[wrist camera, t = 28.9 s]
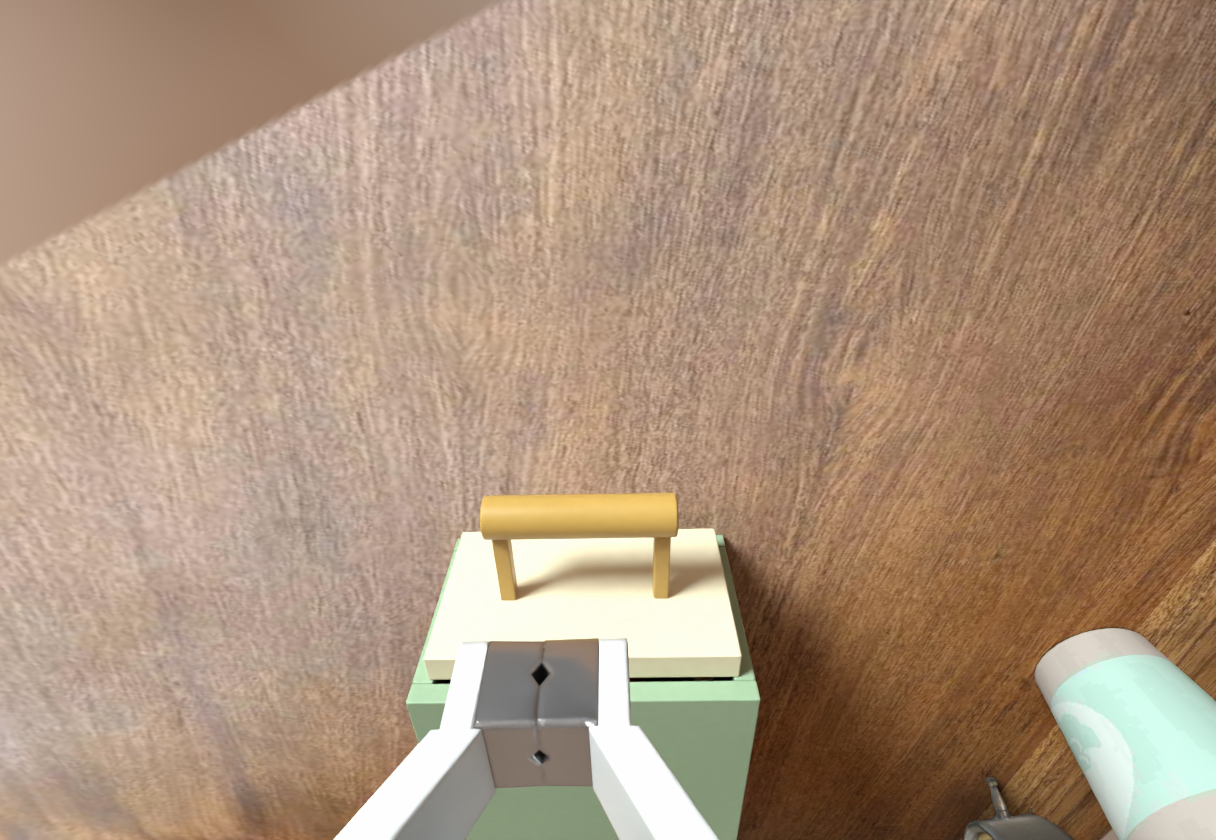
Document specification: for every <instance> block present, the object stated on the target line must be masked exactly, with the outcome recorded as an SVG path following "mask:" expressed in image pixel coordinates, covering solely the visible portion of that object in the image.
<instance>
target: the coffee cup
mask: <svg viewBox="0 0 1216 840" xmlns="http://www.w3.org/2000/svg"><path fill="white" fill-rule="evenodd" d="M1035 680H1036V683H1037V685H1038V687H1039V689H1040V691H1041V693H1042V695H1043V696H1044V698H1045V700H1046V702H1047V704H1048V706H1049V708H1050V710H1051V712H1052V714H1053V716H1054V718H1055V720H1056V722H1057V724H1058V726H1059V727H1060V729H1061V731H1062V733H1063V735H1064V737H1065V739H1066V741H1067V743H1068V745H1069V747H1070V748H1071V750H1072V752H1073V754H1074V756H1075V758H1076V760H1077V762H1078V764H1079V766H1080V768H1081V770H1082V771H1083V773H1084V775H1085V777H1086V779H1087V781H1088V783H1089V785H1090V787H1091V789H1092V791H1093V793H1094V794H1095V796H1096V798H1097V800H1098V802H1099V804H1100V806H1101V808H1102V810H1103V812H1104V814H1105V815H1106V817H1107V819H1108V821H1109V823H1110V825H1111V827H1112V829H1113V831H1114V833H1115V835H1116V837H1117V838H1118V840H1216V701H1215V700H1214V699H1213V698H1211V697H1210V696H1209V695H1208V694H1207V693H1206V692H1205V691H1204V690H1203V689H1201V688H1200V687H1199V686H1198V685H1197V684H1196V683H1195V682H1194V681H1192V680H1191V679H1190V678H1189V677H1188V676H1187V675H1186V674H1185V673H1184V672H1182V671H1181V670H1180V669H1179V668H1178V667H1177V666H1176V665H1175V664H1173V663H1172V662H1171V661H1170V660H1169V659H1168V658H1167V657H1165V656H1164V655H1163V654H1162V653H1161V652H1160V651H1159V650H1158V649H1156V648H1155V647H1154V646H1153V645H1152V644H1151V643H1150V642H1149V641H1147V640H1146V639H1145V638H1144V637H1143V636H1141V635H1140V634H1138V633H1136V632H1133V631H1130V630H1126V629H1119V628H1106V629H1098V630H1093V631H1088V632H1085V633H1081V634H1078V635H1076V636H1073V637H1071V638H1069V639H1067V640H1065V641H1063V642H1061V643H1059V644H1058V645H1056V646H1055V647H1053V648H1052V649H1051V650H1050V651H1048V652H1047V653H1046V654H1045V655H1044V656H1043V658H1042V659H1041V660H1040V662H1039V663H1038V665H1037V667H1036V671H1035Z"/></svg>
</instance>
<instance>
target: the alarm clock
mask: <svg viewBox="0 0 1216 840" xmlns="http://www.w3.org/2000/svg"><path fill="white" fill-rule="evenodd" d="M986 783H987V785H988V786H989V787H990V789H991V797H992V802H993V805H994V808H995V811H996V816H994V817H993V818H991V819H986V820H974V821H971V822H970V823H969V824H968V825H967V827H966V829H965V832H964V837H963V840H1074V839H1073V838H1072V837H1071V836H1070V835H1069V834H1067V833H1066V832H1065V831H1064V830H1063V829H1061V828H1060V827H1059V826H1057V825H1056V824H1054V823H1052V822H1051V821H1049V820H1047V819H1045V818H1042V817H1040V816H1037V815H1032V810H1031V809H1030V812H1029V814H1023V815H1015V816H1011V815H1010V814H1009V812H1008V810H1007V806H1006V803H1005V801H1004V800H1003V798H1002V796H1001V794H1000V792H999V790H998V788H997V785H998V782H997V780H996V779H995V778H994V777H988V778H987V779H986Z"/></svg>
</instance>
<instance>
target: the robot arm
mask: <svg viewBox="0 0 1216 840" xmlns="http://www.w3.org/2000/svg"><path fill="white" fill-rule="evenodd" d="M535 786H593V790H594V792H595V794H596V796H597V798H598V800H599V802H600V804H601V805H602V807H603V809H604V811H605V813H606V815H607V817H608V819H609V821H610V823H611V825H612V827H613V829H614V831H615V832H616V834H617V836H618V838H619V840H719V839H718V837H717V836H716V834H715V833H714V832H713V830H712V829H711V827H710V826H709V824H708V823H707V821H706V820H705V819H704V817H703V816H702V814H701V813H700V811H699V810H698V809H697V807H696V806H695V804H694V803H693V801H692V800H691V798H690V797H689V796H688V794H687V793H686V791H685V790H684V788H683V787H682V785H681V784H680V783H679V781H678V780H677V778H676V777H675V775H674V774H673V772H672V771H671V770H670V768H669V767H668V765H667V764H666V762H665V761H664V760H663V758H662V757H661V755H660V754H659V752H658V751H657V749H656V748H655V747H654V745H653V744H652V742H651V741H650V739H649V738H648V736H647V735H646V734H645V732H644V731H643V729H642V728H641V726H634V725H632V724H631V701H630V678H629V655H628V642H627V638H618V639H599V638H593V639H565V640H545V641H467V642H462V643H461V645H460V647H459V649H458V652H457V656H456V661H455V665H454V669H453V673H452V678H451V682H450V686H449V690H448V695H447V699H446V703H445V708H444V712H443V716H442V720H441V725H440V729H437V730H430V731H429V733H428V734H427V735H426V736H425V737H424V738H423V739H422V740H421V742H420V743H419V744H418V745H417V746H416V747H415V748H414V749H413V751H412V752H411V753H410V754H409V755H408V756H407V757H406V758H405V760H404V761H403V762H402V763H401V764H400V765H399V766H398V767H397V769H396V770H395V771H394V772H393V773H392V774H391V775H390V776H389V778H388V779H387V780H386V781H385V782H384V783H383V784H382V785H381V787H380V788H379V789H378V790H377V791H376V792H375V793H374V794H373V796H372V797H371V798H370V799H369V800H368V801H367V802H366V803H365V805H364V806H363V807H362V808H361V809H360V810H359V811H358V812H357V814H356V815H355V816H354V817H353V818H352V819H351V820H350V821H349V822H348V824H347V825H346V826H345V827H344V828H343V829H342V830H341V831H340V833H339V834H338V835H337V836H336V837H335V838H334V839H333V840H465V839H466V837H467V836H468V834H469V833H470V831H471V830H472V828H473V827H474V825H475V823H476V822H477V820H478V819H479V817H480V816H481V814H482V813H483V811H484V809H485V808H486V806H487V805H488V803H489V802H490V800H491V799H492V797H493V795H494V794H495V792H496V791H495V788H515V787H535Z"/></svg>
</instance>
